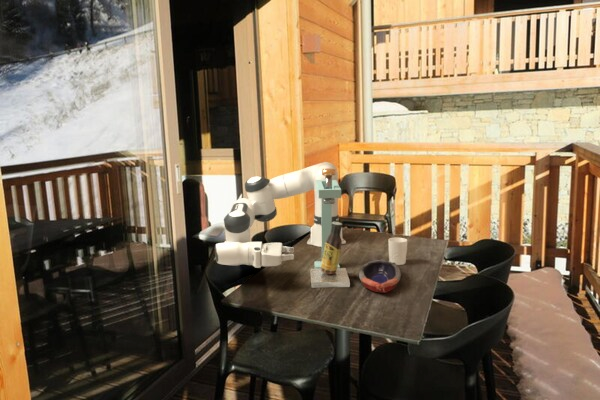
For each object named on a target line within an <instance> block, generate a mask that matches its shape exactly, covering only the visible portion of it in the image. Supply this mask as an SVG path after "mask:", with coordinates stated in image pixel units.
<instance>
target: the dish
mask: <svg viewBox="0 0 600 400" xmlns="http://www.w3.org/2000/svg"><path fill="white" fill-rule="evenodd" d="M358 277H359V279H360V282H361V284H362V285H363V287H364V288H366V289H368V290H369V291H372V292H376V293H380V294H381V293H383V294H385V293H388V292H391V291H392V290H394V289H395V288H397V286H398V285H399V282H400V280H401V278H402V274H401V270H400V268H399V267H398V265H396V264H395V262H393V263H392V262H389V260H384V259H375V260H370V261H368V262H366V263H364V264H363V265H362V266H360V269H359V271H358Z"/></svg>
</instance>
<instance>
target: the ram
mask: <svg viewBox="0 0 600 400" xmlns="http://www.w3.org/2000/svg"><path fill="white" fill-rule="evenodd" d="M336 169H337V168H336ZM336 169H331V168H327V169H322V175H325V182H326V189H332V175H336ZM323 203H324V204H333V203H335V198H323Z"/></svg>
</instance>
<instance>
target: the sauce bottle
mask: <svg viewBox="0 0 600 400" xmlns="http://www.w3.org/2000/svg"><path fill="white" fill-rule="evenodd" d="M331 226H332V227H331V232H330V234H329V236H328V238H327V240H326V242H325V247H324V253H323V258H322V257H321V261H322V264H321V271H322V272H324V273H326V274H335V273H336V270H337V267H338V262H339V260H340V254H341V250H342V245H343V244H342V240H341V237H340V232H341V228H342V229H343V223H342V222H332V224H331Z"/></svg>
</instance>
